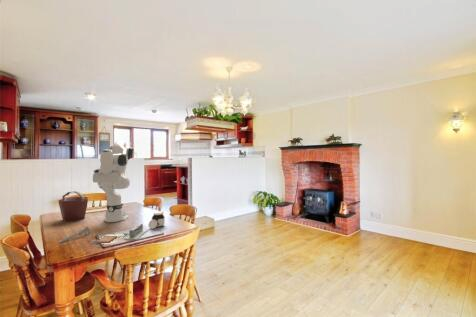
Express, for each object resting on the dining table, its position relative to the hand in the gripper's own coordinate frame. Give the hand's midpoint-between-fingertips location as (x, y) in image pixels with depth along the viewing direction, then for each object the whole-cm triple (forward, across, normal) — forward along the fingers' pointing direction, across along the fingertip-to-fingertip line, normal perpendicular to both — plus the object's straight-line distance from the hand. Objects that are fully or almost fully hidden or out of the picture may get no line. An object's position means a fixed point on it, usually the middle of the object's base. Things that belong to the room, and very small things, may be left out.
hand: (107, 188), depth 183 cm
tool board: (+33, -27, +10) cm, 44 cm away
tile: (+32, -12, +17) cm, 38 cm away
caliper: (+34, +14, +16) cm, 40 cm away
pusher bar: (+32, -27, +10) cm, 43 cm away
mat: (+33, -12, +18) cm, 39 cm away
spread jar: (+33, -35, -10) cm, 49 cm away
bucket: (+33, +49, -35) cm, 69 cm away
